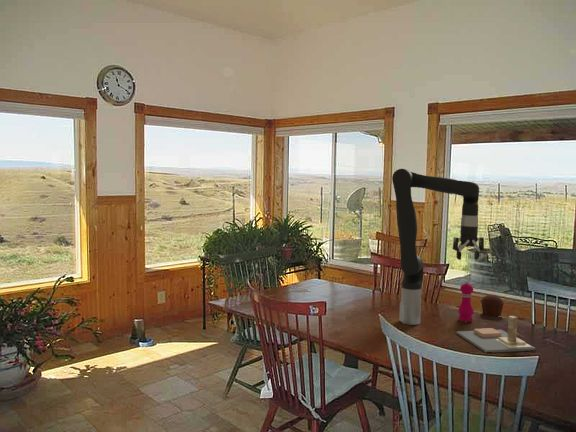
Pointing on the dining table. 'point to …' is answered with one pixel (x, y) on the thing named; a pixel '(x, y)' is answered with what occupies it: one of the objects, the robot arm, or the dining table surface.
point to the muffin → (492, 305)
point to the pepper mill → (466, 303)
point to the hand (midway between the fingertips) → (467, 259)
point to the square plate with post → (512, 333)
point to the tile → (487, 332)
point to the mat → (489, 342)
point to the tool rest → (514, 345)
